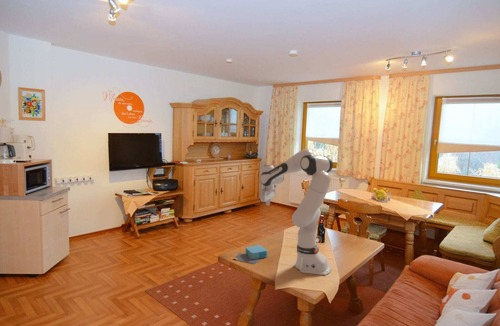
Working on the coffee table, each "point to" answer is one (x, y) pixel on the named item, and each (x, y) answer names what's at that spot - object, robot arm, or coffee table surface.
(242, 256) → the mat
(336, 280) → the coffee table surface
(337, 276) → the coffee table surface
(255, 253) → the data package
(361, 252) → the coffee table surface
